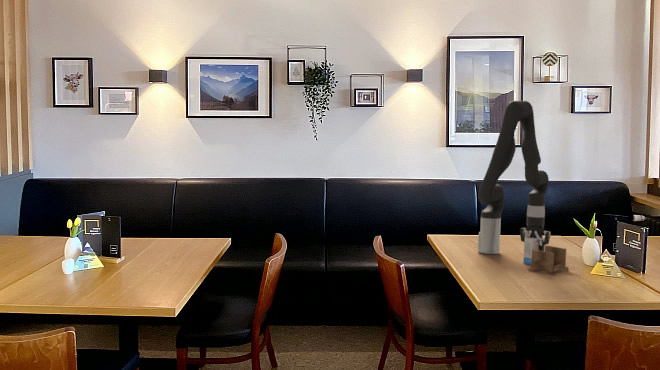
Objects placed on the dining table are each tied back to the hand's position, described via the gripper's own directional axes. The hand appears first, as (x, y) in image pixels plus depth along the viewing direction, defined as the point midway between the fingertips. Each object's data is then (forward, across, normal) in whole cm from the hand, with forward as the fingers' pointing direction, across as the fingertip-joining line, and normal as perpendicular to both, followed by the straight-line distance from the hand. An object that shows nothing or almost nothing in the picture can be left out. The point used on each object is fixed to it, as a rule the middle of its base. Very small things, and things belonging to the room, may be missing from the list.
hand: (534, 252), depth 268 cm
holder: (+5, +10, -7) cm, 13 cm away
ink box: (+5, 0, 0) cm, 5 cm away
